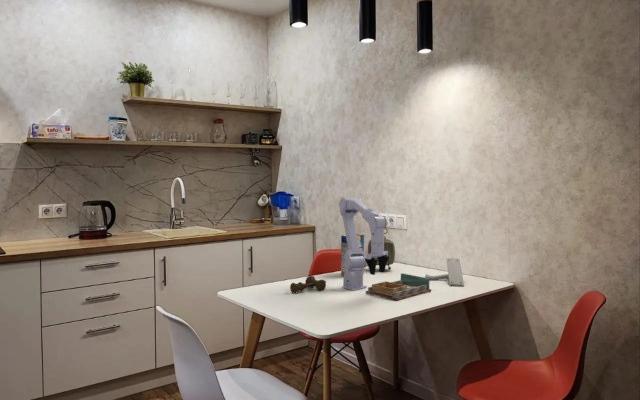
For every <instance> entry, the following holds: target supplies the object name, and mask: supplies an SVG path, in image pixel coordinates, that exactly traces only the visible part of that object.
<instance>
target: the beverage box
mask: <svg viewBox="0 0 640 400" xmlns="http://www.w3.org/2000/svg"><path fill="white" fill-rule="evenodd" d="M356 235H357V240H358V245H359V249H361V250H362V251H363V252H364V253H365V235H364V234H359V233H356ZM340 237H341V238H340V239H341V241H340V244H341V245H340V247H341V248H340V260H341V261H340V276H341V277H343V275H344V273H345V272H346V271H348V269H347V268H346V267H345V263H344V261H345V257H344V255H345V254H346V252H347V251H348V244H347V239H346V234H343V235H341V236H340ZM364 270H365V268H364V269H363V276H364Z"/></svg>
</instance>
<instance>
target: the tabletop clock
mask: <svg viewBox="0 0 640 400" xmlns="http://www.w3.org/2000/svg"><path fill="white" fill-rule="evenodd" d="M384 230H386V232H384V251H388V256H389V260H388V261H387V264H386V266H387V269H388V270H391V268H392V267H391V266H392V265H393V264H394V262H395V257H396V249H395V243H394V242H393V241H392V240H390V239H387V238H386V236H385V235H386V234H387V233H388V232H389V231H388V229H387V227H386V228H385V229H384ZM369 253H371V239H370V240H369V241H368V245H367V254H369ZM374 259H375V260H378V258H377V257H376V258H374ZM390 265H391V266H390ZM376 266H379V262H378V261H377V264H376Z"/></svg>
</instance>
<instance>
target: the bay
mask: <svg viewBox="0 0 640 400" xmlns="http://www.w3.org/2000/svg"><path fill="white" fill-rule="evenodd" d="M430 281H431V280H430V278H425V276H418V275H413V274H407V273H404V272H403V273H400V279H398V280H395V281H394V280H393V281H391V282H392V283H396V284H401V285H406V286H407V289H406V290H402V291H398V292H394V293H392V296H389V295H385V294H381V293H377V292H372V286H368V288H367V290H365V294H367V295H372V296H374V297H379V298H382V299H383V298H384V299H387V300H392V301H396V302H398V301H401V300H405V299H409V298H412V297H415V296H419V295H424V294H427V293H431V292H432V289H430Z"/></svg>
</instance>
